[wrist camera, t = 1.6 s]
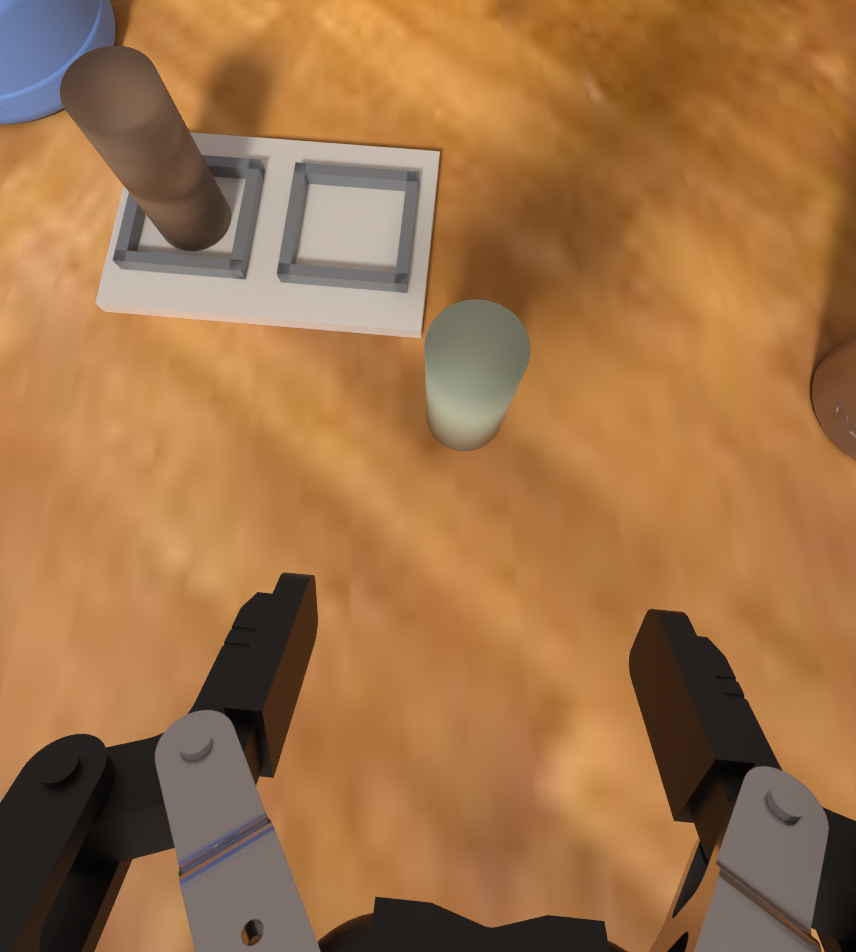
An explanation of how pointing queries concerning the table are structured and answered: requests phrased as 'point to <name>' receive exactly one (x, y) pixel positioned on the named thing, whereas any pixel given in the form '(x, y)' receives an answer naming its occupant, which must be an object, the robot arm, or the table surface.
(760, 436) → the table surface
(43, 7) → the water jug
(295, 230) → the base plate
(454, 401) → the sage column
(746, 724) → the robot arm
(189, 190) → the walnut column
